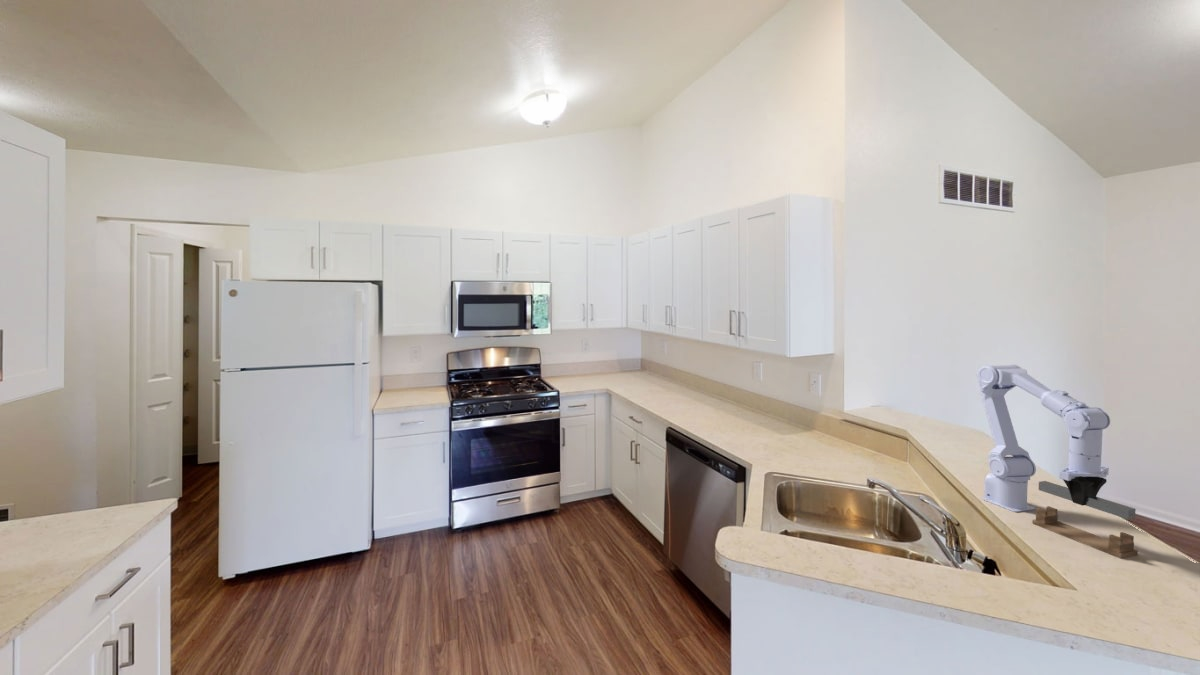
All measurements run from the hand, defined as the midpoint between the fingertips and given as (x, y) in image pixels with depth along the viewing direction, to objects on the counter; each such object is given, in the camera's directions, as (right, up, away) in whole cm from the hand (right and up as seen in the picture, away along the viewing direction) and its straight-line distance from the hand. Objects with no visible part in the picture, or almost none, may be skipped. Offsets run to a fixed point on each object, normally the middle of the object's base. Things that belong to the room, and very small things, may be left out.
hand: (1082, 503), depth 114 cm
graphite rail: (0, 0, 0) cm, 0 cm away
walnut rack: (0, -10, +1) cm, 10 cm away
